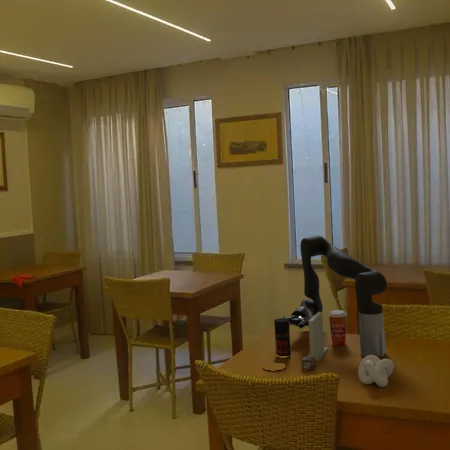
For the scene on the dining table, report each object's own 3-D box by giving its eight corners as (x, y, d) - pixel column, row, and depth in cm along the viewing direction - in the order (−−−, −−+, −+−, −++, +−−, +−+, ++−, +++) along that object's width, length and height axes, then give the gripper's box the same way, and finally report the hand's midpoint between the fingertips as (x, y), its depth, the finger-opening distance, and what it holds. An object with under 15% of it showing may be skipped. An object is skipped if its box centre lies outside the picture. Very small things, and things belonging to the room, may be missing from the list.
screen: (328, 349, 234) (326, 312, 233) (318, 361, 221) (316, 321, 220) (316, 349, 236) (314, 311, 235) (306, 360, 223) (304, 320, 222)
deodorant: (273, 355, 231) (271, 319, 230) (286, 352, 234) (284, 317, 233) (281, 359, 226) (278, 322, 225) (293, 356, 228) (291, 320, 227)
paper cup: (328, 346, 239) (327, 314, 238) (330, 341, 246) (329, 309, 245) (347, 347, 237) (346, 314, 236) (349, 341, 244) (347, 309, 243)
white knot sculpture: (350, 384, 194) (349, 359, 193) (369, 374, 202) (368, 350, 202) (380, 392, 186) (379, 365, 185) (398, 381, 194) (397, 356, 194)
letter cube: (315, 367, 214) (314, 357, 214) (312, 371, 210) (311, 360, 210) (305, 366, 216) (304, 356, 216) (301, 370, 212) (301, 359, 212)
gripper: (285, 307, 257) (274, 316, 242) (316, 308, 251) (306, 318, 236) (286, 323, 257) (274, 333, 243) (317, 325, 252) (306, 335, 237)
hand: (290, 325), depth 240 cm, fingers open, 8 cm apart
